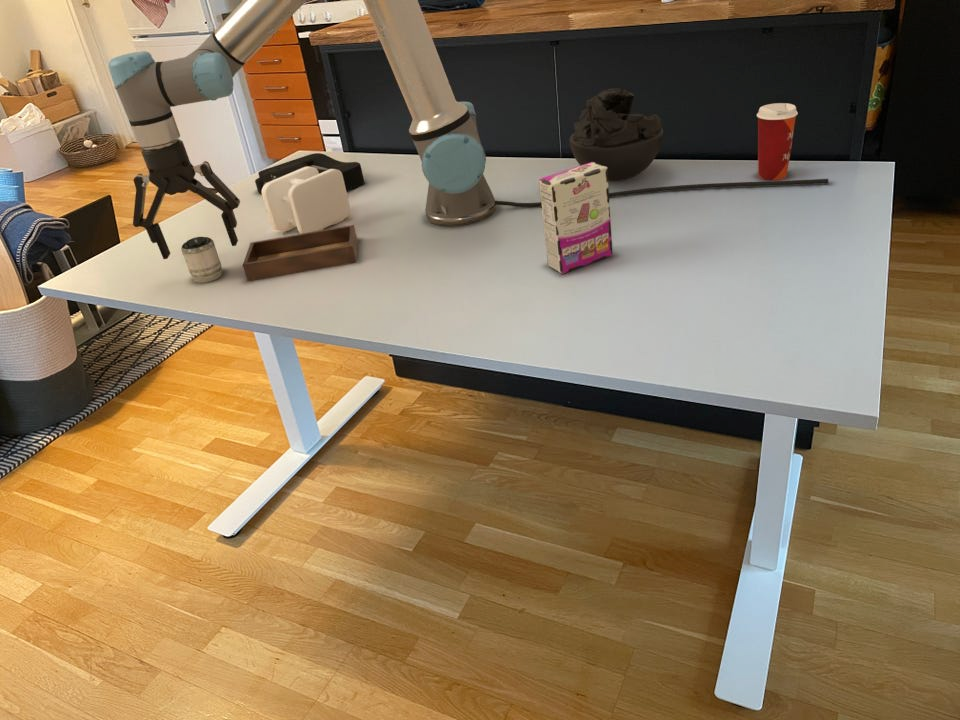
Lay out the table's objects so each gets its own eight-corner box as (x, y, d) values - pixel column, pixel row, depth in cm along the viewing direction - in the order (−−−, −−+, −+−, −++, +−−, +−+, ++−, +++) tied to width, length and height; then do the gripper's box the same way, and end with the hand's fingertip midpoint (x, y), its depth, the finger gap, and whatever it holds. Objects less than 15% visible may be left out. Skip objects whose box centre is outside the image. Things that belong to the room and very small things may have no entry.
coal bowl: (646, 158, 176) (644, 75, 166) (676, 184, 159) (677, 93, 149) (563, 173, 175) (557, 90, 165) (585, 201, 158) (579, 110, 148)
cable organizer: (302, 242, 160) (287, 190, 154) (272, 235, 166) (257, 184, 160) (353, 216, 169) (341, 166, 163) (323, 210, 175) (310, 162, 169)
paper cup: (797, 179, 152) (804, 109, 145) (759, 184, 153) (763, 114, 146) (784, 167, 159) (790, 100, 152) (748, 172, 160) (751, 105, 152)
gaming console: (254, 192, 195) (246, 165, 191) (318, 169, 205) (311, 143, 202) (306, 210, 177) (299, 181, 173) (373, 184, 187) (367, 156, 184)
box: (357, 240, 157) (353, 224, 155) (356, 262, 147) (352, 245, 145) (255, 257, 156) (250, 242, 154) (247, 281, 146) (242, 265, 144)
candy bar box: (597, 247, 137) (592, 160, 129) (613, 256, 133) (609, 166, 125) (545, 266, 134) (537, 177, 125) (560, 275, 130) (553, 184, 121)
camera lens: (197, 286, 147) (183, 250, 143) (189, 277, 152) (176, 241, 148) (228, 276, 150) (215, 239, 145) (219, 267, 154) (207, 231, 150)
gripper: (231, 126, 140) (265, 231, 151) (99, 150, 139) (143, 254, 150) (224, 136, 134) (261, 245, 145) (86, 162, 133) (133, 269, 144)
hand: (201, 250), depth 148 cm, fingers open, 13 cm apart
